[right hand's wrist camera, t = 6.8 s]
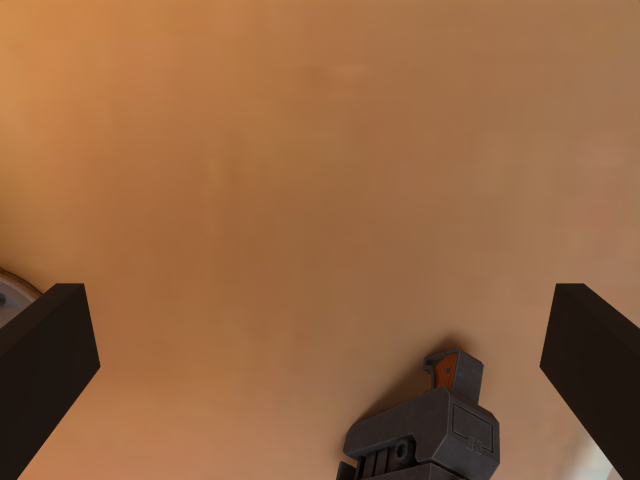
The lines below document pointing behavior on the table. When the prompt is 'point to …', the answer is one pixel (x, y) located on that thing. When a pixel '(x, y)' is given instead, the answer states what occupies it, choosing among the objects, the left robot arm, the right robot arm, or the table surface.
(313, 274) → the table surface
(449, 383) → the tool
